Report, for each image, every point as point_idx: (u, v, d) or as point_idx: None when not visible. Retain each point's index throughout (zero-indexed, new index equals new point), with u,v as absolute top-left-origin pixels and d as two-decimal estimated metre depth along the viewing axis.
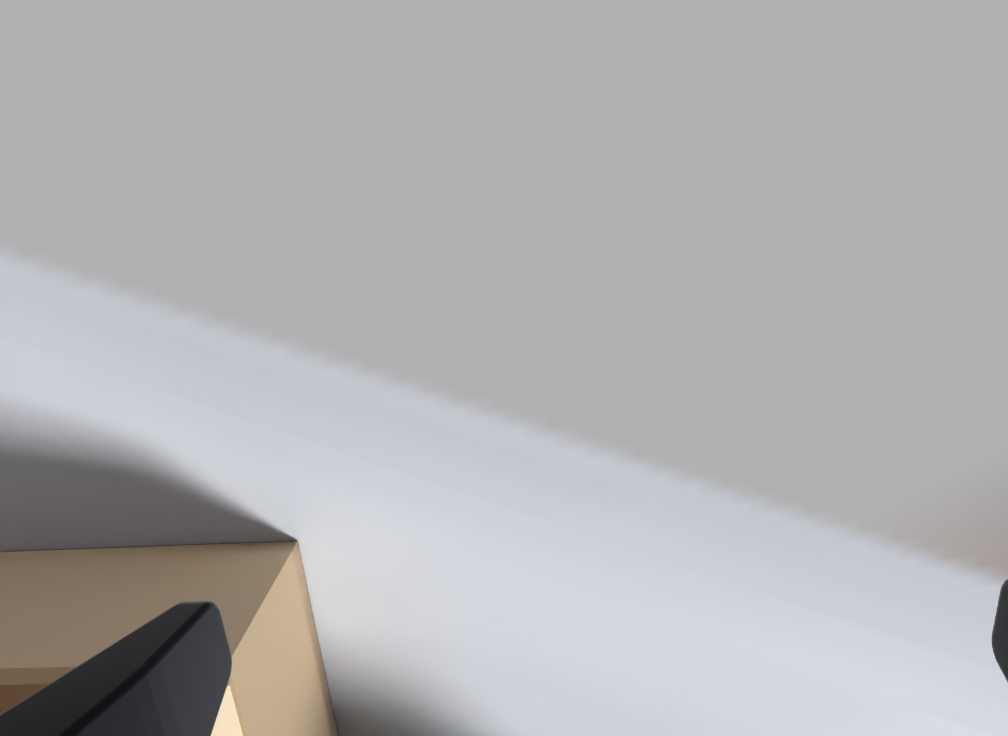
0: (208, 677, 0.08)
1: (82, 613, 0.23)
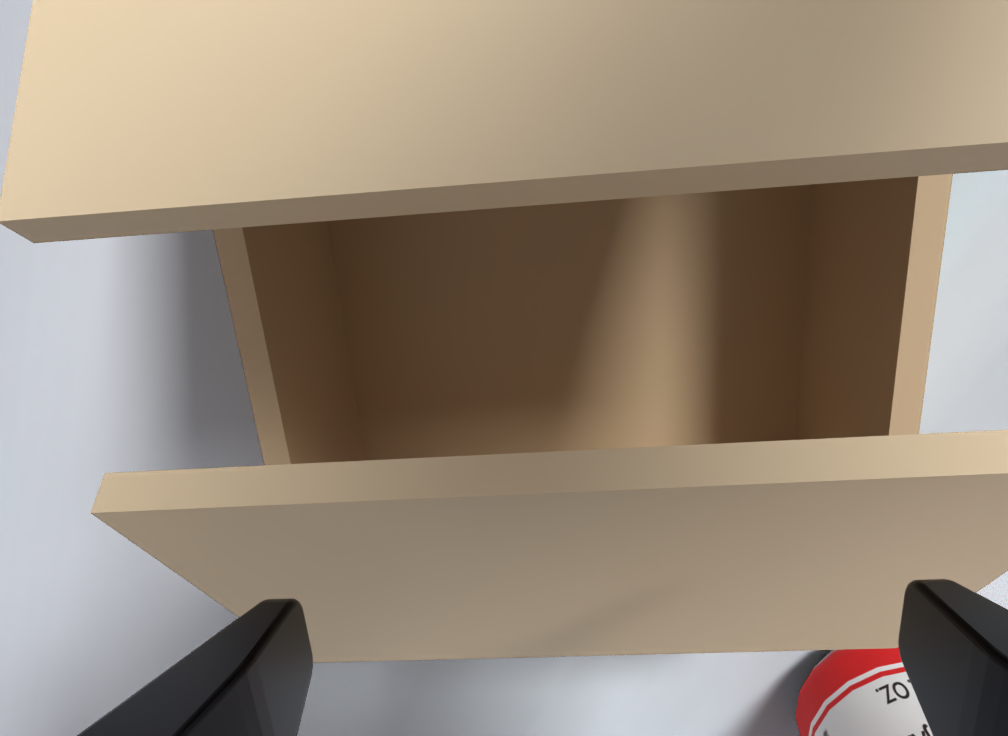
0: (295, 675, 0.08)
1: None
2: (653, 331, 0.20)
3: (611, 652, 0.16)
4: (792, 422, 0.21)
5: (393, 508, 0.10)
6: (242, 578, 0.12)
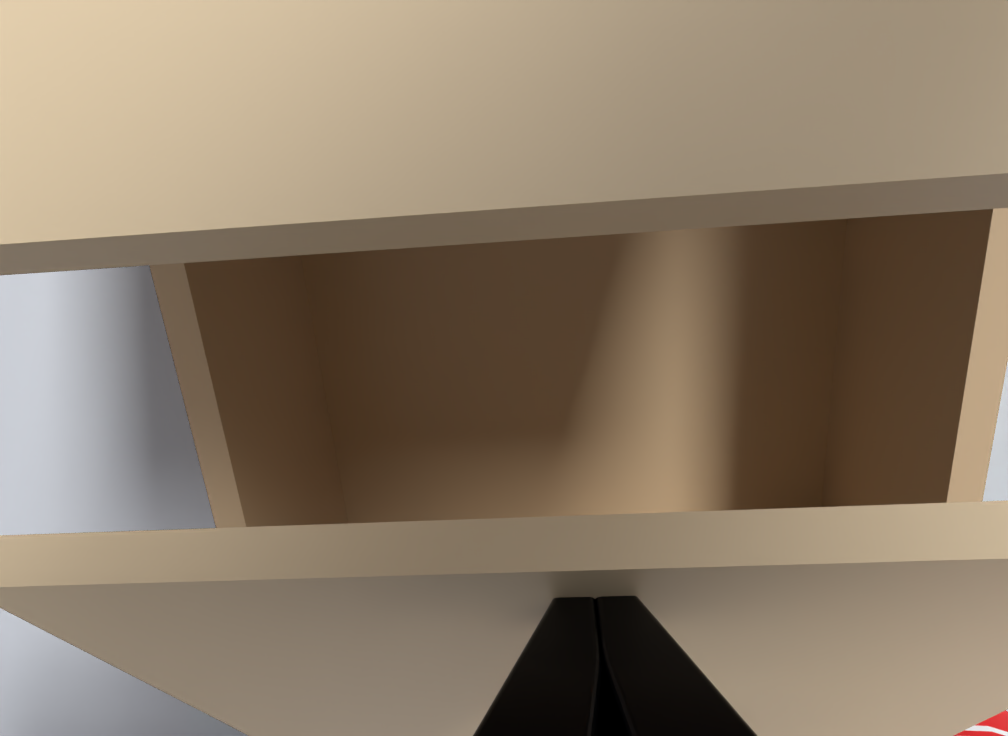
0: None
1: None
2: (665, 357, 0.18)
3: None
4: (821, 459, 0.18)
5: (342, 587, 0.08)
6: (171, 660, 0.10)
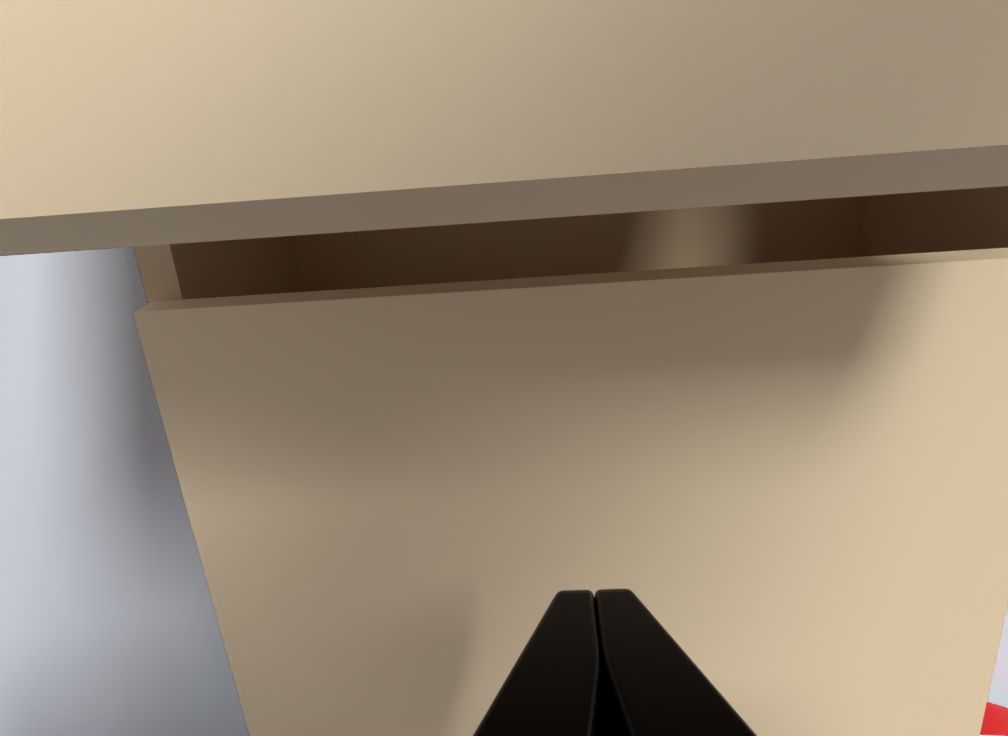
0: None
1: None
2: None
3: None
4: None
5: (402, 313, 0.11)
6: (234, 474, 0.12)
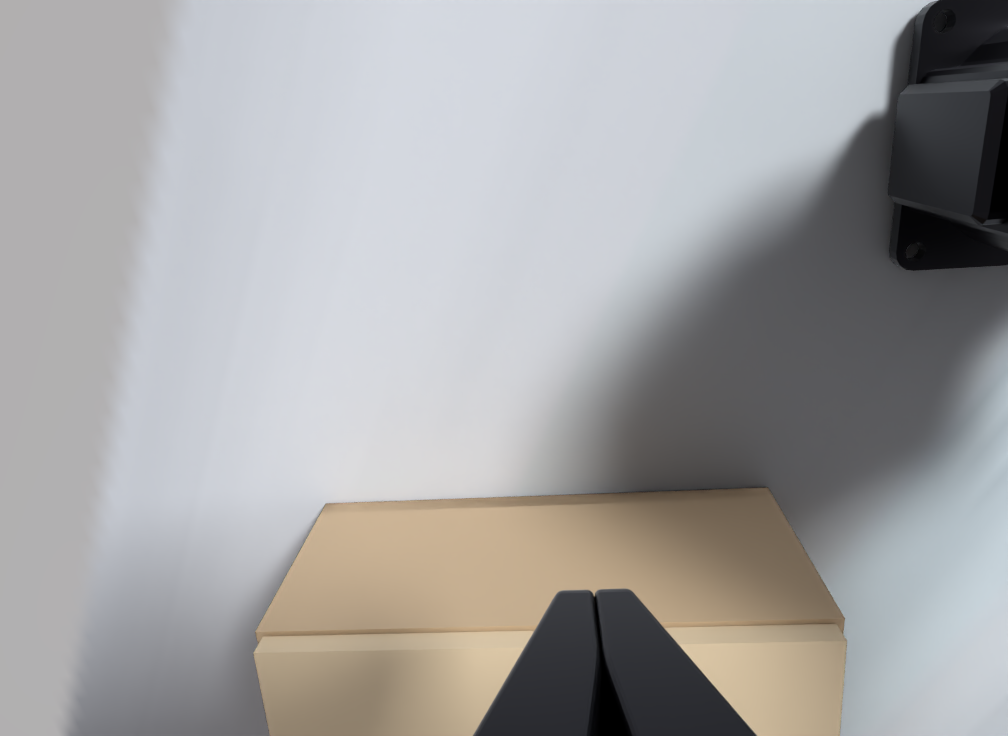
0: None
1: None
2: None
3: None
4: None
5: None
6: None
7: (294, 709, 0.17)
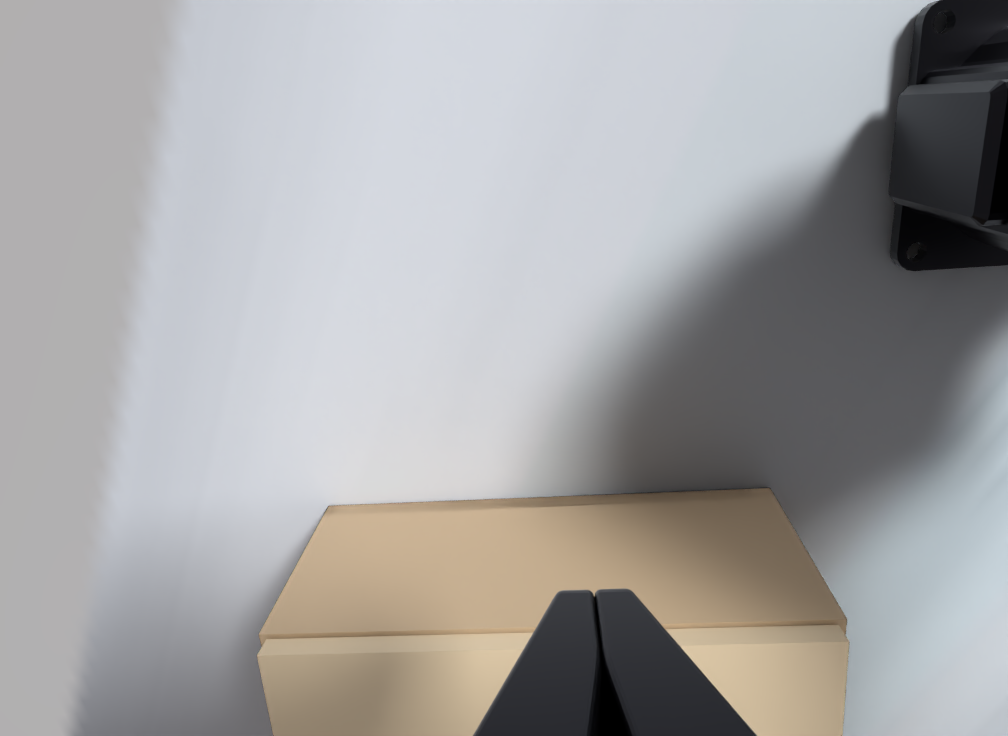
0: None
1: None
2: None
3: None
4: None
5: None
6: None
7: (298, 711, 0.17)
